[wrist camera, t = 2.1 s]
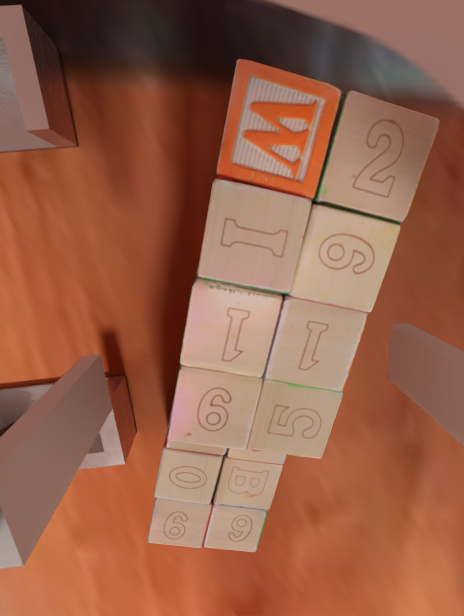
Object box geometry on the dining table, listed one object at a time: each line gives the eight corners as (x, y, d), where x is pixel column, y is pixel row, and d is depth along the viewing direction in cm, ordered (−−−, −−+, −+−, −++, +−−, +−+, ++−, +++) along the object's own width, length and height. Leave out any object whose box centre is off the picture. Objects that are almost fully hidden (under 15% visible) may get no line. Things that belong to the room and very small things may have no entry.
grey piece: (1, 447, 24) (-34, 483, 20) (-19, 390, 22) (-60, 419, 19) (137, 431, 24) (125, 463, 21) (125, 374, 23) (110, 399, 20)
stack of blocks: (239, 440, 25) (264, 626, 14) (167, 429, 25) (125, 616, 13) (311, 180, 20) (452, 112, 8) (222, 156, 20) (238, 45, 8)
